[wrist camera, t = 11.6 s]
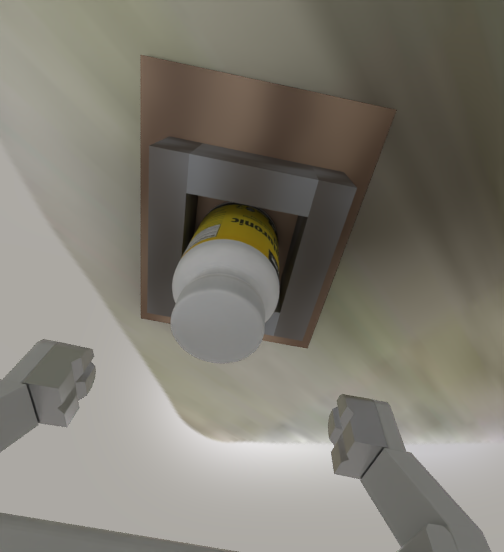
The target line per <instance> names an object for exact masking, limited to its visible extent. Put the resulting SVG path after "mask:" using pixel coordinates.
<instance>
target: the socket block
mask: <svg viewBox="0 0 504 552" xmlns="http://www.w3.org/2000/svg"><path fill="white" fill-rule="evenodd" d="M396 111H397V110H395V109H390V108H386V107H381V106H376V105H372V104H367V103H362V102H358V101H353V100H349V99H344V98H339V97H335V96H330V95H325V94H321V93H316V92H311V91H307V90H302V89H297V88H293V87H288V86H283V85H279V84H274V83H270V82H265V81H260V80H256V79H251V78H246V77H242V76H237V75H232V74H228V73H223V72H218V71H214V70H209V69H204V68H200V67H195V66H191V65H186V64H181V63H177V62H172V61H167V60H163V59H158V58H153V57H149V56H144V55H141V318H142V319H148V320H153V321H159V322H165V323H170V324H171V315H172V311H173V309H174V307H175V304H176V303H175V301H174V298H173V292H172V281H173V276H174V273H175V270H176V267H177V265H178V263H179V261H180V259H181V258H182V256H183V254H184V252H185V250H186V249H187V247H188V245H189V243H190V241H191V240H192V238H193V236H194V234H195V232H196V231H197V229H198V227H199V225H200V223H201V222H202V220H203V219H204V217H205V216H206V215H207V214H208V213H209V212H210V211H211V210H212V209H213V208H215V207H216V206H218V205H220V204H223V203H226V202H234V203H239V204H244V205H249V206H254V207H259V208H261V209H262V210H263V211H265V212H266V213H267V214H268V216H269V217H270V218H271V219H272V221H273V223H274V225H275V227H276V230H277V235H278V250H279V280H280V289H279V299H278V303H277V306H276V309H275V311H274V313H273V314H272V316H271V317H270V318H269V319H268V320H267V321H266V322H265V327H264V336H263V339H262V340H264V341H269V342H275V343H281V344H286V345H292V346H297V347H303V348H308V345H309V343H310V340H311V337H312V335H313V332H314V329H315V327H316V324H317V321H318V319H319V316H320V313H321V311H322V308H323V305H324V303H325V300H326V297H327V295H328V292H329V289H330V287H331V284H332V281H333V279H334V276H335V273H336V271H337V268H338V265H339V263H340V260H341V257H342V255H343V252H344V249H345V247H346V244H347V241H348V239H349V236H350V233H351V231H352V228H353V225H354V223H355V220H356V217H357V215H358V212H359V209H360V207H361V204H362V201H363V199H364V196H365V193H366V191H367V188H368V185H369V183H370V180H371V177H372V175H373V172H374V169H375V167H376V164H377V161H378V159H379V156H380V153H381V151H382V148H383V145H384V143H385V140H386V137H387V135H388V132H389V129H390V127H391V124H392V121H393V119H394V116H395V113H396Z"/></svg>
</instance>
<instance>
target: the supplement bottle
mask: <svg viewBox="0 0 504 552" xmlns="http://www.w3.org/2000/svg"><path fill="white" fill-rule="evenodd" d="M279 289H280V280H279V250H278V235H277V230H276V227H275V225H274V223H273V221H272V219H271V218H270V217H269V216H268V214H267V213H266V212H265V211H263V210H262V209H261V208H259V207H254V206H249V205H244V204H239V203H234V202H226V203H223V204H220V205H218V206H216V207H215V208H213V209H212V210H211V211H210V212H209V213H208V214H207V215H206V216H205V217H204V219H203V220H202V222H201V223H200V225H199V227H198V229H197V231H196V232H195V234H194V236H193V238H192V240H191V241H190V243H189V245H188V247H187V249H186V250H185V252H184V254H183V256H182V258H181V259H180V261H179V263H178V265H177V267H176V270H175V273H174V276H173V281H172V292H173V298H174V301H175V303H176V304H175V307H174V309H173V311H172V315H171V330H172V333H173V336H174V338H175V339H176V341H177V342H178V344H179V345H180V346H181V347H182V348H183V349H184V350H185V351H186V352H188V353H189V354H191V355H192V356H194V357H196V358H198V359H201V360H204V361H207V362H212V363H232V362H236V361H240V360H242V359H244V358H246V357H248V356H250V355H251V354H252V353H253V352H255V351H256V349H257V348H258V347H259V345H260V344H261V342H262V339H263V336H264V327H265V322H266V321H267V320H268V319H269V318H270V317H271V316H272V314H273V313H274V311H275V309H276V306H277V303H278V299H279Z"/></svg>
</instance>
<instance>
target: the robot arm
mask: <svg viewBox="0 0 504 552" xmlns="http://www.w3.org/2000/svg"><path fill="white" fill-rule="evenodd" d="M93 357H94V354H93V350H92V349H90V348H85V347H80V346H76V345H71V344H66V343H61V342H56V341H51V340H45V339H43V340H41V341H39V342H37V343H36V345H34V347H33V348H32V349H31V350H30V351H29V352H28V353H27V354H26V355H25V356H24V357H23V358H22V360H20V362H19V363H18V364H17V365H16V366H15V367H14V368H13V369H12V370H11V371H10V372H9V373H8V374H7V375H6V377H5V378H4V379H3V380H1V379H0V452H1V451H3V450H4V449H6V448H7V447H8V446H10V445H11V444H12V443H14V442H15V441H17V440H18V439H19V438H21V437H22V436H23V435H25V434H26V433H28V432H29V431H30V430H32V429H33V428H35V427H36V426H38V423H41V424H48V425H55V426H62V427H68V425H69V424H70V422H71V420H72V418H73V417H74V416H75V414H76V412H77V410H78V409H79V403H78V400H80V399H82V398H83V397H85V396H87V394H88V393H89V391H90V389H91V388H92V385H93V382H94V379H95V374H96V369H95V366H94V364H93V363H92V362H91V360H92V359H93ZM337 405H338V407H336V408H334V409H332V411H331V413H330V416H329V421H328V434H329V439H330V440H331V442H332V443H333V444H334V448H333V450H332V452H331V455H332V462H333V469H334V474H337V475H342V476H348V477H352V478H358V479H361V483H362V484H363V486H364V488H365V489H366V491H367V492H368V494H369V496H370V497H371V499H372V500H373V502H374V504H375V505H376V507H377V509H378V510H379V512H380V514H381V515H382V517H383V518H384V520H385V522H386V523H387V525H388V526H389V528H390V530H391V531H392V533H393V535H394V536H395V538H396V539H397V541H398V543H399V544H400V546H401V548H400V549H399V550H398V551H397V552H491V550H490V548H489V546H488V544H487V541H486V539H485V537H484V535H483V532H482V531H481V530H480V529H479V527H478V526H477V525H476V524H475V523H474V522H473V521H472V520H471V519H470V517H469V516H468V515H467V514H466V513H465V512H464V511H463V510H462V509H461V507H460V506H459V505H457V503H456V502H455V501H454V500H453V499H452V498H451V496H450V495H449V494H448V493H447V492H446V491H445V490H444V489H443V488H442V486H441V485H440V484H439V483H438V482H437V481H436V480H435V479H434V478H433V476H431V474H430V473H429V472H428V471H427V470H426V469H425V468H424V467H423V465H421V463H420V462H419V461H418V460H417V459H416V458H415V457H414V455H413V454H412V453H410V452H406V449H405V446H404V444H403V441H402V438H401V435H400V432H399V429H398V427H397V424H396V421H395V418H394V415H393V412H392V410H391V407H390V405H389V404H388V402H383V401H378V400H371V399H368V398H362V397H356V396H350V395H345V394H342V395H340V396H339V398H338V399H337ZM0 552H237V551H231V550H225V549H218V548H212V547H206V546H200V545H194V544H188V543H182V542H176V541H170V540H164V539H158V538H152V537H145V536H139V535H133V534H127V533H121V532H115V531H109V530H103V529H97V528H90V527H85V526H79V525H72V524H66V523H60V522H54V521H48V520H42V519H36V518H30V517H24V516H17V515H12V514H5V513H0Z"/></svg>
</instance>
